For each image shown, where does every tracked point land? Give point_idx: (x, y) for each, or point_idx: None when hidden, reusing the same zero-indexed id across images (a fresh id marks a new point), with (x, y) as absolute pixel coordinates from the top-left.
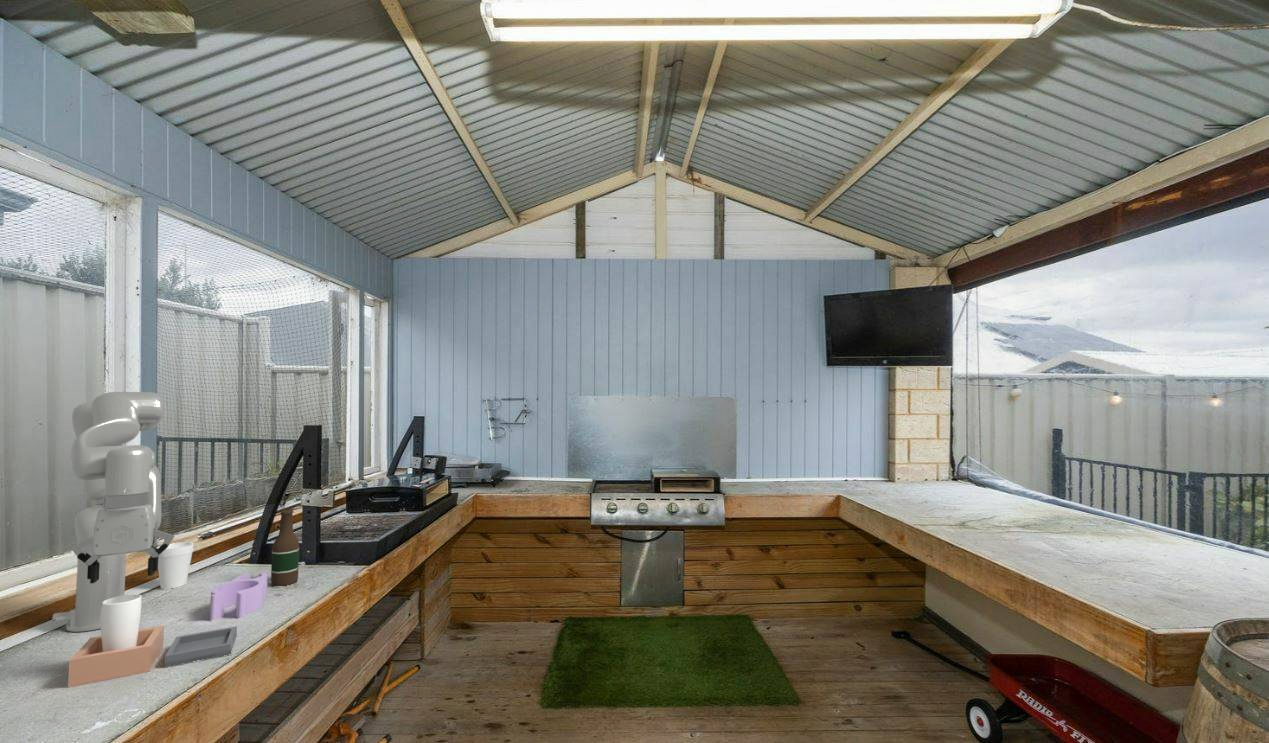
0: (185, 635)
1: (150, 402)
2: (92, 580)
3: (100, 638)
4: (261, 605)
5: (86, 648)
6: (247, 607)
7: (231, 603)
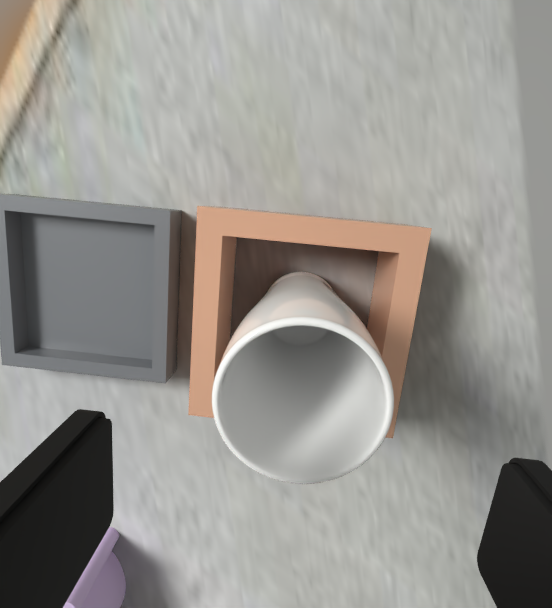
0: (140, 376)
1: None
2: (535, 473)
3: None
4: None
5: (393, 327)
6: None
7: None
